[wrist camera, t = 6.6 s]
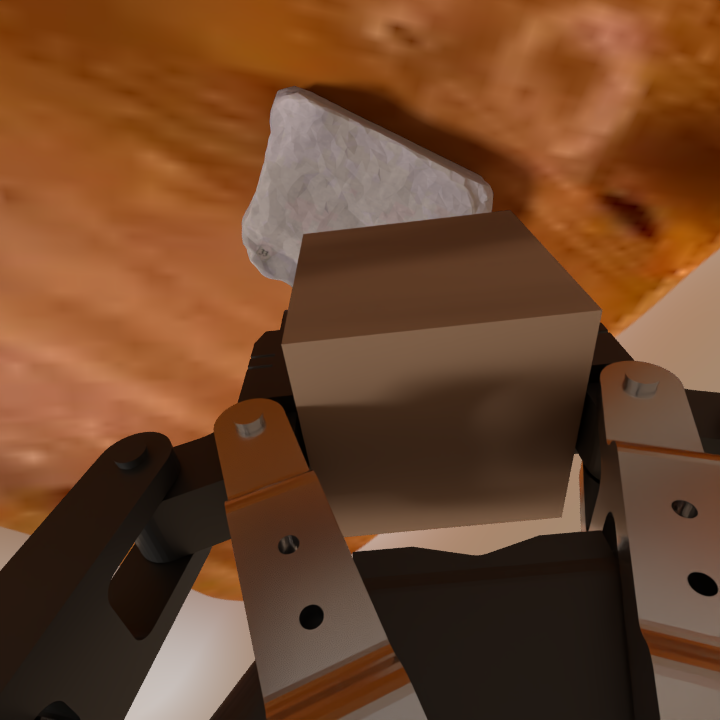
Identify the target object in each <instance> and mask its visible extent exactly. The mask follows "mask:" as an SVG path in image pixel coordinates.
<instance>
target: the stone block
mask: <svg viewBox="0 0 720 720" xmlns="http://www.w3.org/2000/svg"><path fill="white" fill-rule="evenodd" d="M270 128H271V134H270V137H269V139H268V147H267V150H266V153H265V162H264V164H263V167H262V171H261V175H260V178H259V183H258V186H257V190H256V193H255V195H254V197H253V199H252V201H251V203H250V205H249V207H248V209H247V210H246V212H245V215H244V217H243V219H242V239H243V244H244V245H245V247H246V248H247V253H248V256H249V259H250V261H251V263H252V264H254V265H255V266H256V268H257V269H258V270H259V271H260V273H261V274H262V275H264V276H265V277H267V278H270V279H275V280H281V281H284V282H285V283H287V284H289V285H291V287H292V288H293V283H294V278H295V273H296V268H297V263H298V258H299V253H300V248H301V243H302V238H303V234H308V233H317V232H325V231H334V230H343V229H351V228H360V227H368V226H377V225H386V224H394V223H403V222H412V221H420V220H429V219H437V218H446V217H455V216H463V215H472V214H481V213H489V212H492V204H493V191H492V189H491V186H490V185H489V184H488V183H487V182H485V181H484V180H483V178H482V176H480V175H478V174H476V173H474V172H472V171H470V170H468V169H466V168H464V167H462V166H460V165H458V164H456V163H454V162H452V161H450V160H448V159H446V158H444V157H442V156H440V155H438V154H435V153H433V152H431V151H429V150H427V149H425V148H423V147H421V146H419V145H417V144H415V143H413V142H411V141H409V140H407V139H405V138H403V137H401V136H399V135H397V134H395V133H393V132H391V131H389V130H387V129H385V128H383V127H381V126H379V125H377V124H375V123H372V122H370V121H368V120H366V119H364V118H362V117H360V116H358V115H356V114H354V113H352V112H350V111H348V110H346V109H344V108H342V107H340V106H339V105H337V104H334V103H332V102H330V101H328V100H327V99H325V98H323V97H320V96H318V95H317V94H315V93H313V92H311V91H307V90H305V89H302V88H299V87H296V86H293V87H289V88H285V89H282V90H278V92H277V95H276V97H275V100H274V103H273V105H272V109H271V114H270Z"/></svg>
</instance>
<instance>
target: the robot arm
mask: <svg viewBox="0 0 720 720" xmlns="http://www.w3.org/2000/svg"><path fill="white" fill-rule="evenodd" d="M287 313H288V310H285V311H284V314H283V319H282V323H281V328H280V330H276V331H267V332H265V333H264V334H263V335H262V336H261V337H260V338H259V339H258V341H257V342H256V343H255V344H254V347H253V351H252V354H251V359H250V361H249V365H248V370H247V372H246V375H245V379H244V382H243V386H242V390H241V393H240V397H239V400H238V403H237V404H235V405H233V406H231V407H229V408H228V409H227V410H225V411H224V412H223V413H222V414H221V415H220V416H219V417H218V419H217V420H216V422H215V424H214V432H213V433H211V434H209V435H207V436H205V437H202V438H200V439H197V440H194V441H191V442H188V443H185V444H182V445H178V446H175V447H173V446H172V444H171V442H170V440H169V439H168V437H167V436H165V435H163V434H161V433H157V432H143V433H138V434H134V435H131V436H128V437H126V438H124V439H122V440H120V441H118V442H116V443H115V444H113V445H112V446H110V447H109V448H108V449H107V450H105V451H104V453H103V454H102V455H101V456H100V457H99V458H98V459H97V460H96V461H95V463H94V464H93V465H92V466H91V467H90V468H89V469H88V471H87V472H86V473H85V474H84V475H83V476H82V477H81V479H80V480H79V481H78V482H77V483H76V484H75V486H74V487H73V488H72V489H71V490H70V491H69V492H68V494H67V495H66V496H65V497H64V498H63V499H62V501H61V502H60V503H59V504H58V505H57V506H56V507H55V509H54V510H53V511H52V512H51V513H50V514H49V515H48V517H47V518H46V519H45V520H44V521H43V522H42V524H41V525H40V526H39V527H38V528H37V529H36V530H35V532H34V533H33V534H32V535H31V536H30V537H29V539H28V540H27V541H26V542H25V543H24V545H22V547H21V548H20V549H19V550H18V551H17V552H16V553H15V555H14V556H13V557H12V558H11V559H10V560H9V561H8V563H7V564H6V565H5V566H4V567H3V568H2V570H1V571H0V720H124V718H125V716H126V715H127V712H128V711H129V709H130V707H131V705H132V703H133V701H134V699H135V697H136V695H137V693H138V691H139V689H140V687H141V685H142V683H143V681H144V679H145V677H146V676H147V674H148V671H149V669H150V668H151V666H152V664H153V661H154V660H155V658H156V656H157V654H158V652H159V650H160V648H161V646H162V644H163V642H164V640H165V638H166V636H167V634H168V633H169V630H170V629H171V627H172V625H173V623H174V621H175V619H176V617H177V615H178V613H179V611H180V609H181V607H182V605H183V603H184V601H185V599H186V597H187V596H188V594H189V592H190V590H191V588H192V586H193V584H194V582H195V580H196V578H197V576H198V574H199V572H200V570H201V568H202V566H203V564H204V562H205V560H206V559H207V557H208V555H209V553H210V550H211V548H212V546H213V545H216V544H219V543H221V542H224V541H226V540H229V539H231V541H232V546H233V551H234V556H235V561H236V566H237V571H238V576H239V581H240V586H241V590H242V595H243V600H244V605H245V610H246V615H247V620H248V625H249V630H250V635H251V639H252V645H253V650H254V655H255V661H254V662H253V663H252V665H251V666H250V667H249V669H248V670H247V671H246V673H245V674H244V675H243V676H242V678H241V679H240V680H239V682H238V683H237V684H236V686H235V687H234V688H233V690H232V691H231V692H230V694H229V695H228V696H227V697H226V699H225V700H224V701H223V703H222V704H221V705H220V707H219V708H218V709H217V711H216V712H215V713H214V714H213V716H212V717H211V718H210V720H720V393H716V392H706V391H696V390H688V389H684V387H683V384H682V382H681V381H680V380H679V378H678V377H676V376H675V375H674V374H673V373H671V372H670V371H668V370H666V369H664V368H662V367H660V366H657V365H654V364H650V363H646V362H640V361H634V360H633V358H632V357H631V356H630V355H629V354H628V353H627V352H626V350H625V349H624V348H623V347H622V346H621V345H620V344H619V342H618V341H617V340H616V339H615V338H614V337H613V336H612V334H611V333H610V332H609V333H608V330H607V329H606V328H605V326H604V325H603V324H602V323H600V324H599V329H598V334H597V339H596V344H595V350H594V355H593V360H592V365H591V370H590V375H589V380H588V385H587V390H586V395H585V400H584V405H583V411H582V416H581V421H580V426H579V431H578V436H577V441H576V446H575V451H574V454H579V456H580V457H581V459H582V463H581V468H580V472H579V487H580V514H581V532H573V533H562V534H551V535H539V536H537V537H534V538H531V539H528V540H525V541H522V542H519V543H516V544H513V545H511V546H508V547H505V548H502V549H499V550H496V551H494V552H491V553H488V554H484V555H479V556H475V555H467V554H460V553H453V552H446V551H439V550H431V549H424V548H418V547H405V548H393V549H382V550H372V551H360V552H353V558H352V556H351V553H350V551H349V549H348V546H347V544H346V542H345V540H344V537H343V535H342V533H341V530H340V528H339V526H338V523H337V521H336V519H335V517H334V514H333V512H332V510H331V507H330V505H329V503H328V500H327V498H326V496H325V494H324V491H323V489H322V487H321V484H320V482H319V480H318V478H317V475H316V473H315V472H314V470H313V469H311V467H310V463H309V459H308V455H307V450H306V446H305V442H304V438H303V434H302V429H301V425H300V421H299V417H298V413H297V408H296V404H295V400H294V396H293V392H292V387H291V383H290V379H289V375H288V371H287V366H286V362H285V358H284V354H283V350H282V345H281V344H282V338H283V333H284V328H285V323H286V318H287ZM134 542H135V545H134V546H133V548H132V549H131V551H130V552H129V554H128V555H127V557H126V558H125V560H124V561H123V563H122V564H121V566H120V567H119V569H118V570H117V572H116V573H115V571H116V569H117V568H118V566H119V565H120V563H121V562H122V560H123V559H124V557H125V556H126V554H127V553H128V551H129V550H130V548H131V547H132V545H133V544H134ZM114 573H115V575H114V576H113V574H114ZM112 576H113V578H112Z"/></svg>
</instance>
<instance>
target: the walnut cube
mask: <svg viewBox="0 0 720 720" xmlns="http://www.w3.org/2000/svg"><path fill="white" fill-rule="evenodd" d="M601 314H602V309H601V308H600V307H599V306H598V305H597V304H596V303H595V302H594V301H593V300H592V298H591V297H590V296H589V295H588V294H587V293H586V292H585V291H584V290H583V289H582V288H581V286H580V285H579V284H578V283H577V282H576V281H575V280H574V279H573V278H572V277H571V276H570V274H569V273H568V272H567V271H566V270H565V269H564V268H563V267H562V266H561V265H560V264H559V263H558V261H557V260H556V259H555V258H554V257H553V256H552V255H551V254H550V253H549V252H548V251H547V249H546V248H545V247H544V246H543V245H542V244H541V243H540V242H539V241H538V240H537V239H536V237H535V236H534V235H533V234H532V233H531V232H530V231H529V230H528V229H527V228H526V227H525V226H524V224H523V223H522V222H521V221H520V220H519V219H518V218H517V217H516V216H515V215H514V214H513V212H512V211H511V210H507V211H498V212H489V213H481V214H472V215H463V216H455V217H446V218H437V219H429V220H420V221H412V222H403V223H394V224H386V225H377V226H368V227H360V228H351V229H343V230H334V231H325V232H317V233H308V234H303V238H302V243H301V248H300V253H299V258H298V263H297V268H296V273H295V278H294V283H293V288H292V293H291V298H290V303H289V308H288V313H287V318H286V323H285V328H284V333H283V338H282V344H281V345H282V350H283V354H284V358H285V362H286V366H287V371H288V375H289V379H290V383H291V387H292V392H293V396H294V400H295V404H296V408H297V413H298V417H299V421H300V425H301V429H302V434H303V438H304V442H305V446H306V450H307V455H308V459H309V463H310V467H311V469H313V470H314V472H315V473H316V475H317V478H318V480H319V482H320V484H321V487H322V489H323V491H324V494H325V496H326V498H327V500H328V503H329V505H330V507H331V510H332V512H333V514H334V517H335V519H336V521H337V523H338V526H339V528H340V530H341V533H342V535H343V537H351V536H361V535H372V534H383V533H394V532H405V531H415V530H427V529H438V528H448V527H460V526H471V525H482V524H492V523H504V522H515V521H525V520H537V519H548V518H559V517H562V512H563V507H564V502H565V497H566V491H567V487H568V481H569V477H570V471H571V466H572V461H573V456H574V451H575V446H576V441H577V436H578V431H579V426H580V421H581V416H582V411H583V405H584V400H585V395H586V390H587V385H588V380H589V375H590V370H591V365H592V360H593V355H594V350H595V344H596V339H597V334H598V329H599V324H600V319H601Z"/></svg>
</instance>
